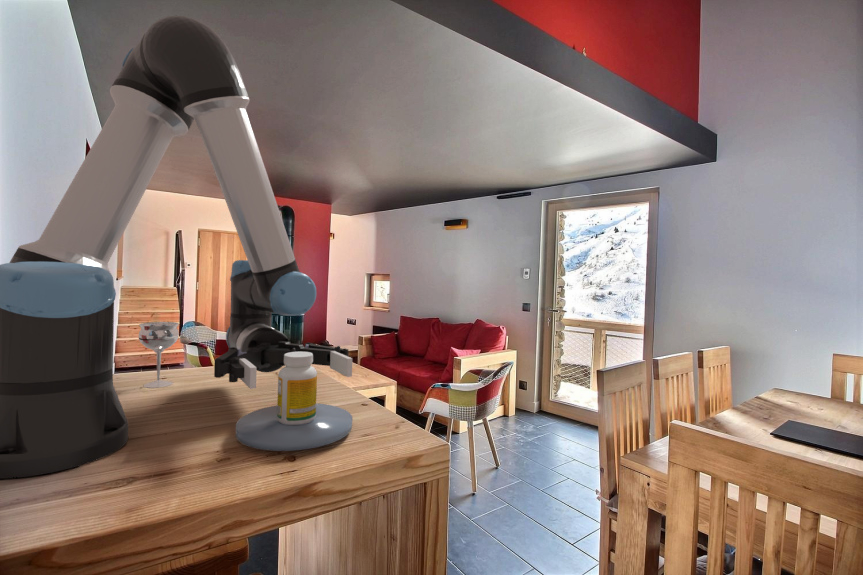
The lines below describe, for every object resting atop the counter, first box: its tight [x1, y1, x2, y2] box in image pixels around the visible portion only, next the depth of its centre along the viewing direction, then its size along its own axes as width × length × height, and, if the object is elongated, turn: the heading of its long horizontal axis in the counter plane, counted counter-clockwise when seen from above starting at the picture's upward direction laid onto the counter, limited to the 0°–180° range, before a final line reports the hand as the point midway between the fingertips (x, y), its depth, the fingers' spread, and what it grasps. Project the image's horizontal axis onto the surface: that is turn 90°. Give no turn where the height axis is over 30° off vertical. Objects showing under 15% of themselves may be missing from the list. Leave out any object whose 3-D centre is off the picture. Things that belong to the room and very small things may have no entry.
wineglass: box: [137, 321, 180, 389], centre depth 85 cm, size 7×7×12 cm
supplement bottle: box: [276, 352, 318, 425], centre depth 62 cm, size 5×5×10 cm
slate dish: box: [235, 402, 353, 452], centre depth 62 cm, size 16×16×2 cm
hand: (304, 372), depth 60 cm, fingers open, 13 cm apart
